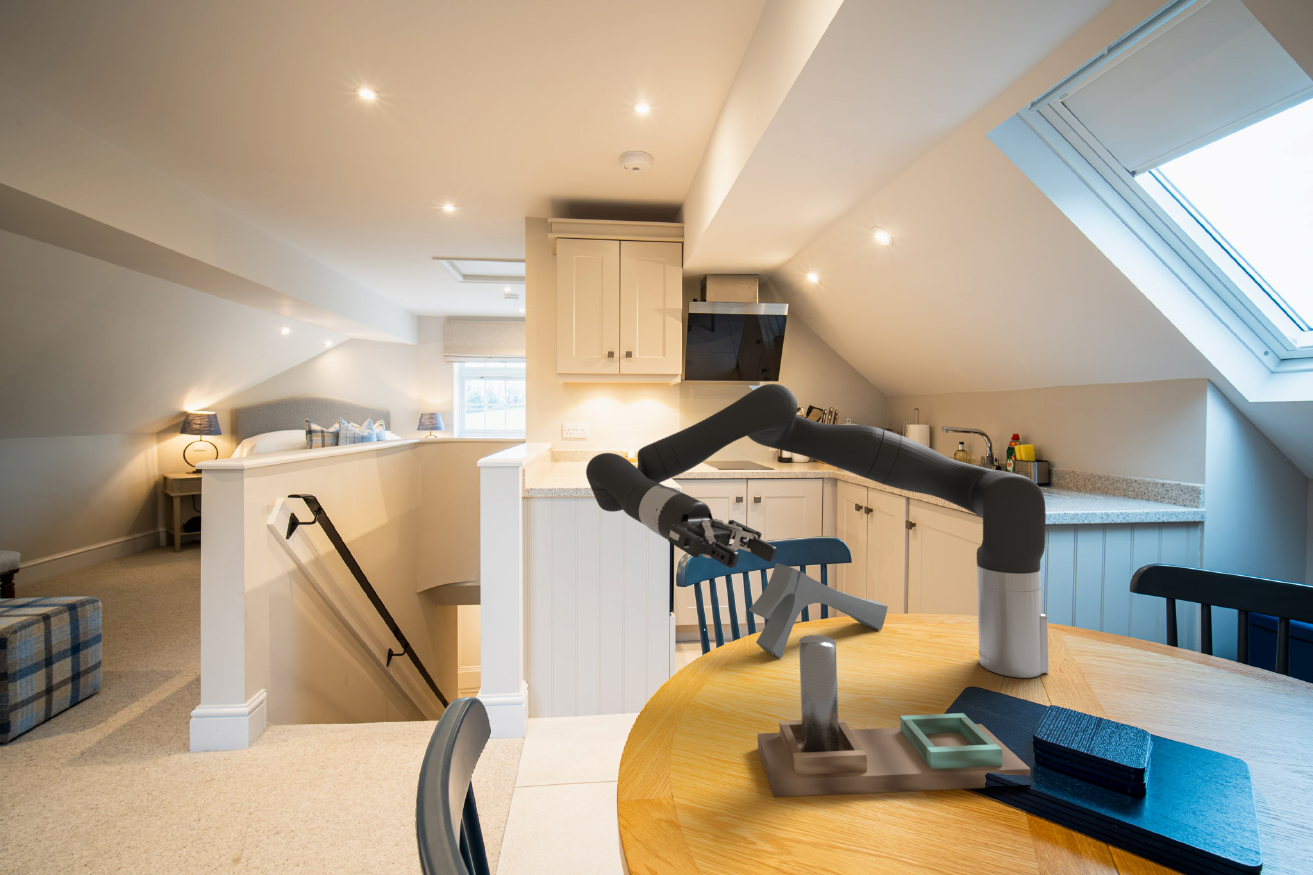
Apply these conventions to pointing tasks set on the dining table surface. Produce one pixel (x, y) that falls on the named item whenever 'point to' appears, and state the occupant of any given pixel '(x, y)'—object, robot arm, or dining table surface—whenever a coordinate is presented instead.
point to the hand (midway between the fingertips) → (755, 558)
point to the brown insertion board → (888, 758)
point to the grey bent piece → (794, 594)
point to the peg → (819, 694)
